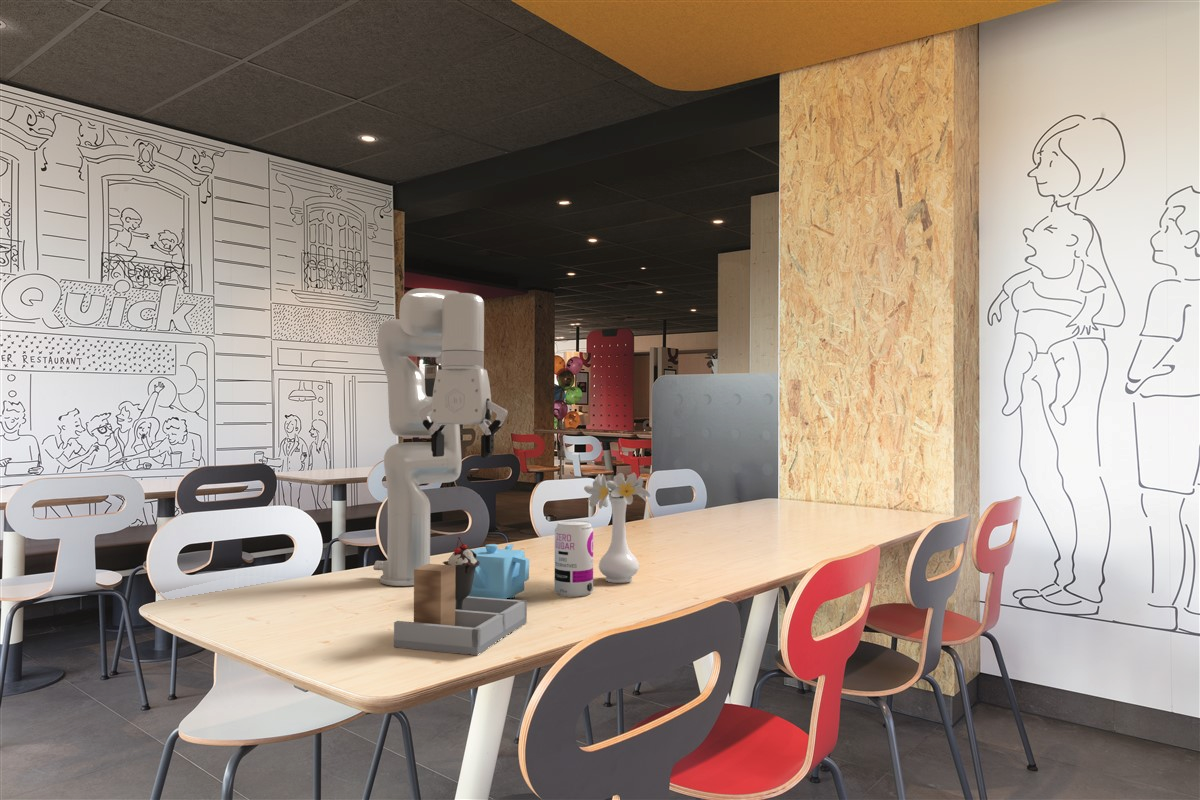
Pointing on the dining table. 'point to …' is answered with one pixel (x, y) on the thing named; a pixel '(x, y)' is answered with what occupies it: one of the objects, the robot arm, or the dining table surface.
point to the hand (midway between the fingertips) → (462, 456)
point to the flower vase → (617, 523)
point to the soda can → (574, 558)
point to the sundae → (463, 572)
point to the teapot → (499, 572)
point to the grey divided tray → (465, 627)
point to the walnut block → (434, 594)
